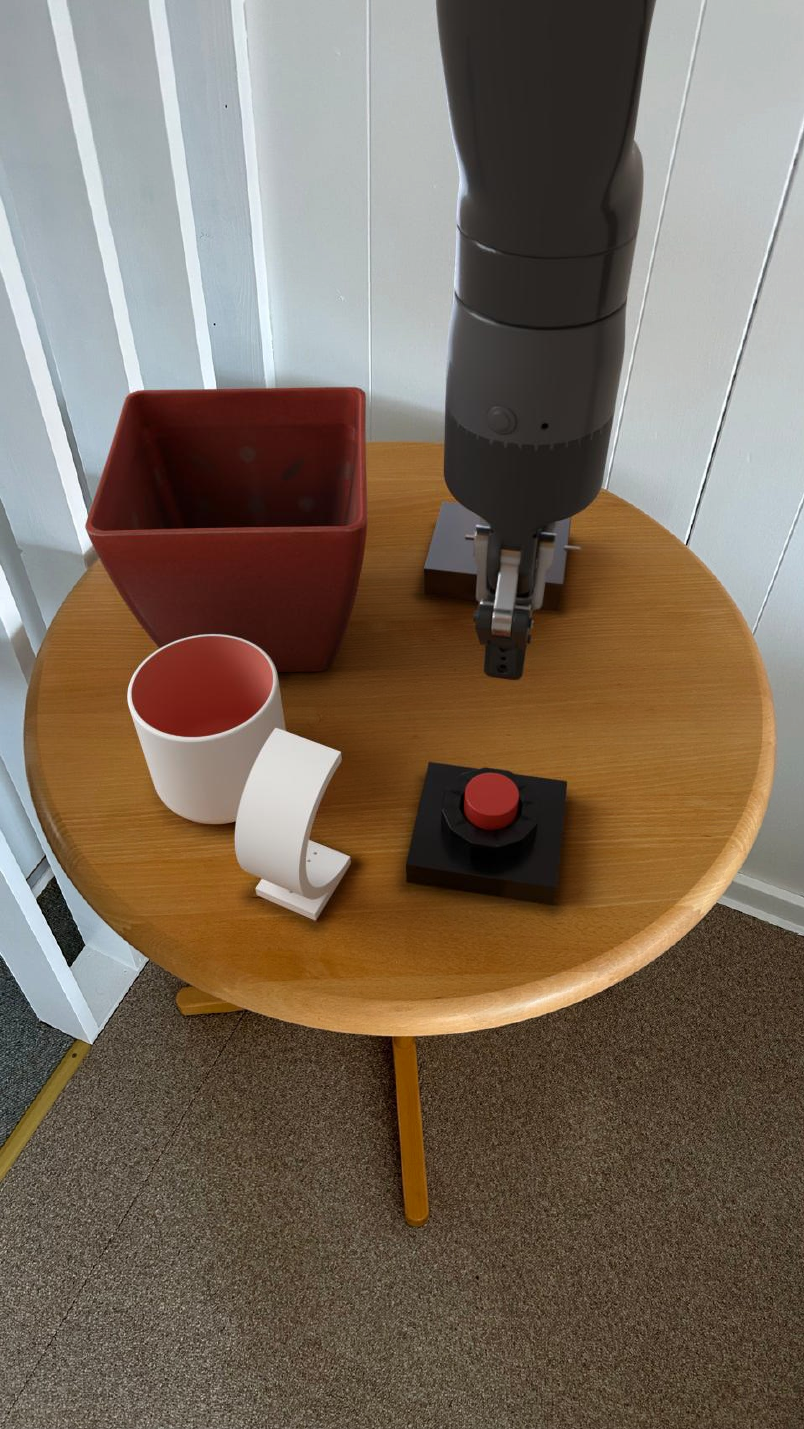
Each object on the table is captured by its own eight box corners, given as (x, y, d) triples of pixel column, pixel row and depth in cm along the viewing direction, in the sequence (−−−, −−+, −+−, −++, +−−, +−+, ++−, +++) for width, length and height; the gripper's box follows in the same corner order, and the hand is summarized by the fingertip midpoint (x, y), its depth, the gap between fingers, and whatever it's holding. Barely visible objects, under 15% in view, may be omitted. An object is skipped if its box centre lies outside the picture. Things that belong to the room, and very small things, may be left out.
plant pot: (372, 550, 90) (366, 382, 78) (375, 699, 77) (367, 527, 65) (167, 555, 90) (127, 388, 77) (134, 706, 77) (80, 535, 64)
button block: (563, 799, 70) (570, 764, 67) (553, 905, 64) (560, 872, 61) (428, 780, 72) (429, 745, 69) (405, 882, 66) (405, 848, 63)
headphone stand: (351, 863, 67) (341, 752, 58) (307, 933, 63) (290, 826, 54) (293, 839, 68) (275, 727, 59) (248, 906, 65) (221, 798, 56)
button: (520, 792, 66) (522, 776, 65) (514, 834, 64) (516, 819, 63) (467, 784, 67) (469, 768, 66) (460, 826, 64) (461, 810, 63)
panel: (579, 541, 91) (584, 513, 88) (571, 613, 84) (576, 585, 82) (441, 526, 92) (442, 499, 90) (423, 595, 86) (423, 567, 83)
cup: (285, 832, 69) (269, 741, 61) (144, 832, 69) (112, 740, 61) (297, 727, 75) (284, 633, 68) (169, 726, 75) (142, 632, 68)
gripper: (609, 486, 38) (560, 766, 51) (622, 329, 46) (577, 602, 59) (420, 467, 39) (419, 747, 52) (467, 317, 48) (456, 588, 60)
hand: (504, 669), depth 55 cm, fingers closed
